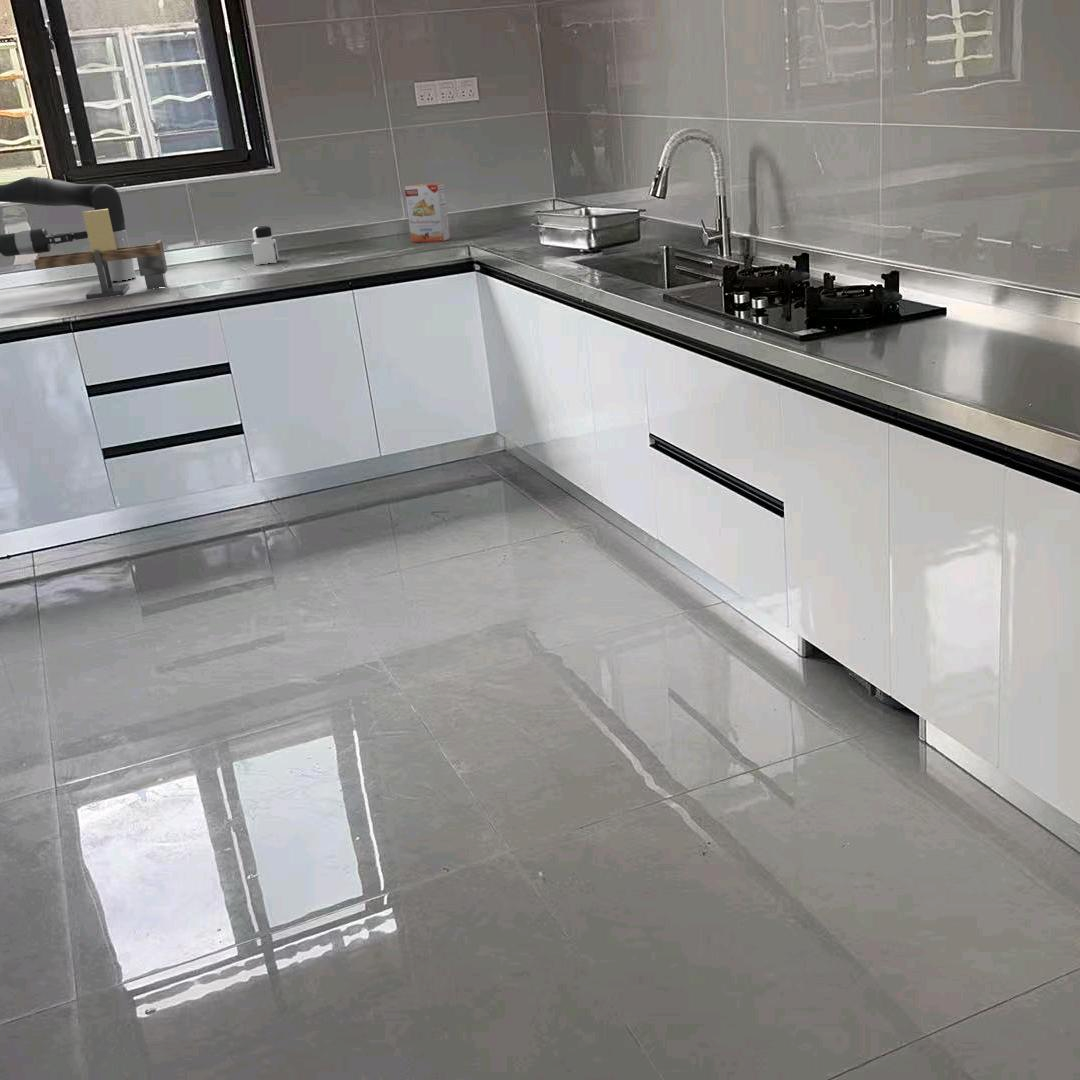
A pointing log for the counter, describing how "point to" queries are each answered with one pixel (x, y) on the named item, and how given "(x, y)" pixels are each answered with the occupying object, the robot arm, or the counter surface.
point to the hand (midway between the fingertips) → (87, 234)
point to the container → (264, 246)
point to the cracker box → (427, 212)
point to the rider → (99, 230)
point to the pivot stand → (114, 290)
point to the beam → (113, 258)
